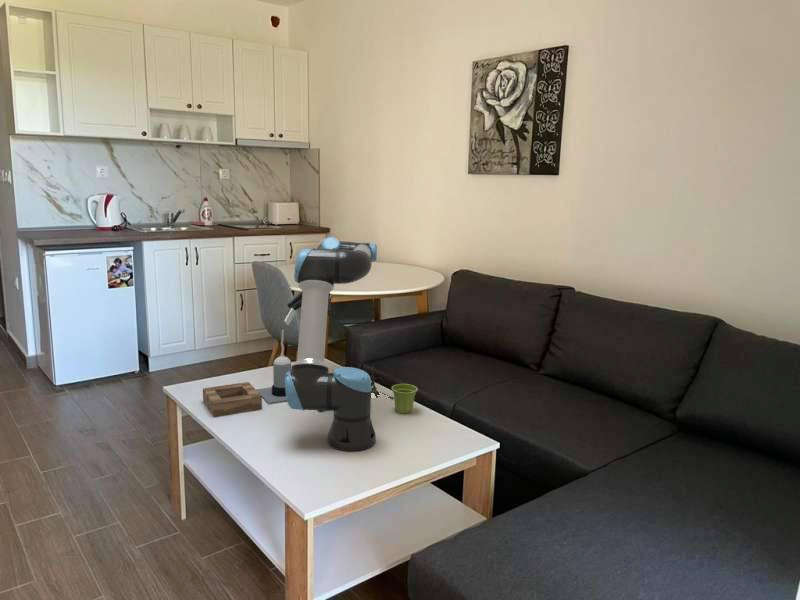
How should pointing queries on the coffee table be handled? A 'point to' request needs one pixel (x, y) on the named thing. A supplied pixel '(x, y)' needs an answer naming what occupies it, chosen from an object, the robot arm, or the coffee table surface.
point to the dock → (232, 399)
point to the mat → (270, 396)
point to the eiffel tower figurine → (374, 389)
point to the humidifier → (280, 372)
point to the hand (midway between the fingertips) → (299, 325)
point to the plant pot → (404, 397)
